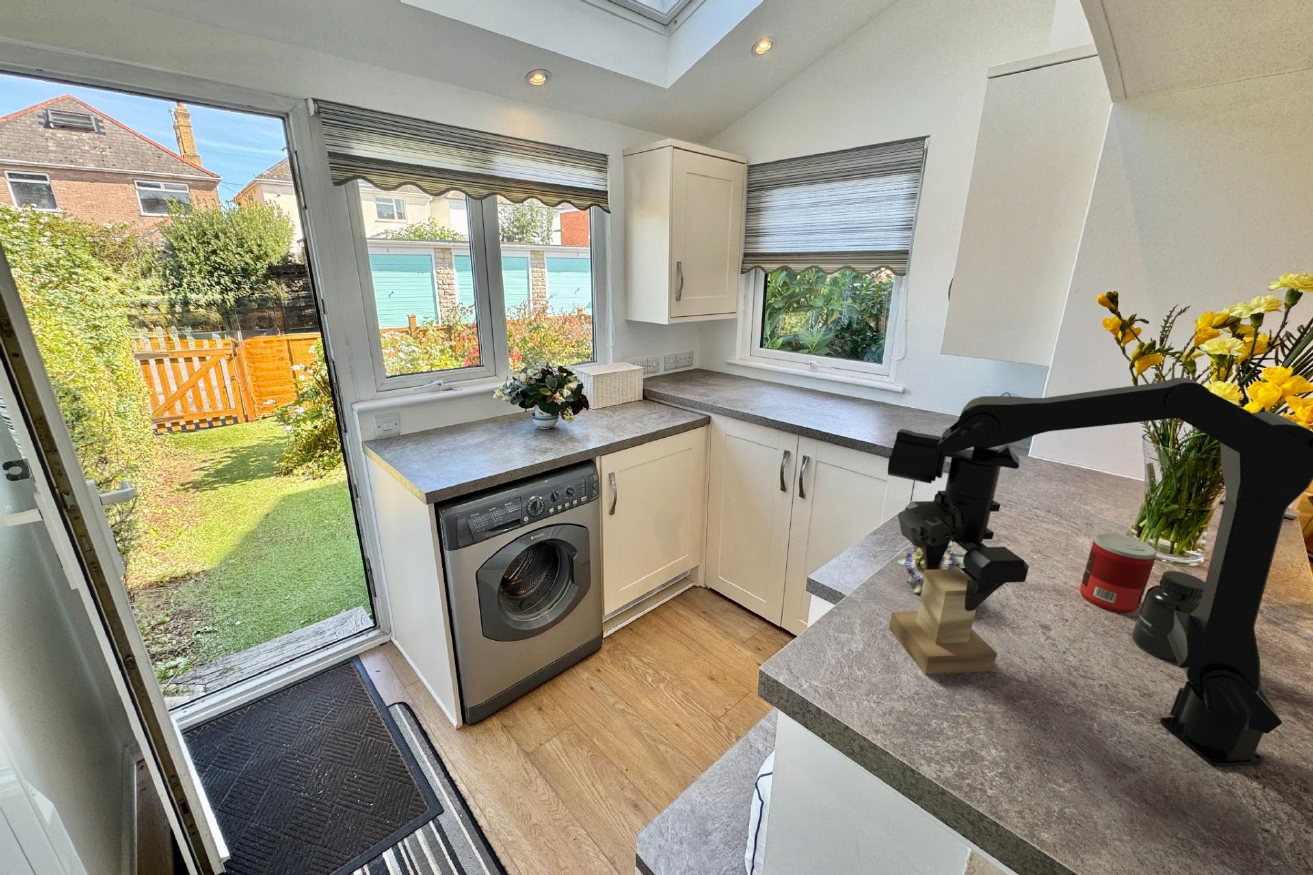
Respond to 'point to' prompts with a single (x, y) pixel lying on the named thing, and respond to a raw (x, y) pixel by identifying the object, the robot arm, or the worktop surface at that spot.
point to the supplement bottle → (1165, 611)
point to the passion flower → (917, 565)
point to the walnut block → (941, 648)
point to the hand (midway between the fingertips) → (948, 590)
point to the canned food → (1117, 572)
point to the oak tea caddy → (945, 606)
